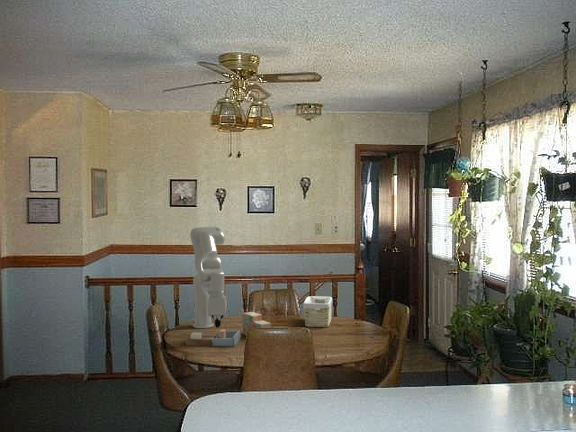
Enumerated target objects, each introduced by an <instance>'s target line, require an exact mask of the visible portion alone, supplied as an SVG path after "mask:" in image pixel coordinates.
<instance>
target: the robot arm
mask: <svg viewBox="0 0 576 432" xmlns="http://www.w3.org/2000/svg"><path fill="white" fill-rule="evenodd" d="M189 236H190V241H191V244H192V246H193V251H194V255H193V256H194V268H195V270H196V271H197V274H196V275H195V276H194V277H193V281H192V282H193V283H192V284H193V289H194V302H195V303H194V304H195V305H194V306H195V307H194V310H195V313H194V314H195V320H194V321H195V323H193V324H192V327H193V328H194V329H195V328H196V329H208V328H213V327H214V326H215V328H217V329H218V328H220V326H222V324H221V323H222V321H221V320H222V319H223V318H226V317H227V318H228V316H229V315H228V303H227V297H226V295H225V272H224V270H223V269H222V267H223V265H222V260H221V257H220V256H218V249H217V246H218V245H224V243H225V239H226V238H225V233H224V231H223V230H222V229H220V228H219V227H218V226H205V227H204V226H203V227H202V226H201V227H194V228H192V229H191V230H190V235H189ZM208 290H210V291H208ZM212 319H213V320H214V322H212Z"/></svg>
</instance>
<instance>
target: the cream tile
mask: <svg viewBox="0 0 576 432" xmlns="http://www.w3.org/2000/svg"><path fill="white" fill-rule="evenodd" d="M202 333H203V332H201V331H197V332H196V331H193V332H192V333H191V334H190V335H191V339H201V338H202Z"/></svg>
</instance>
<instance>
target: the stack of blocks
mask: <svg viewBox="0 0 576 432" xmlns="http://www.w3.org/2000/svg"><path fill="white" fill-rule="evenodd" d="M271 324H272V322H268V321H266V320H264V319H263V314H261V313H257V312H254V311H247V312H242V334H243V335H246V333H247V331H248V330H249V329H251V328H270V327H271V326H272V325H271ZM271 328H272V327H271ZM246 336H247V335H246Z"/></svg>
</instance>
